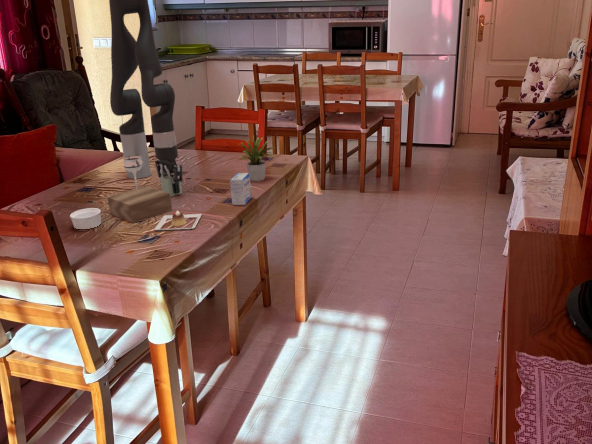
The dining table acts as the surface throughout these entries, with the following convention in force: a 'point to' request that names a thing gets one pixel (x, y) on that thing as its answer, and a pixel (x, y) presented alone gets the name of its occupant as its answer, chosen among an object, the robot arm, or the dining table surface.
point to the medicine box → (240, 189)
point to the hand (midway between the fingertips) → (172, 191)
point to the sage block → (168, 185)
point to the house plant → (256, 160)
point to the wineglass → (133, 165)
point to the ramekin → (86, 218)
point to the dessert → (177, 220)
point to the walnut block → (139, 204)
